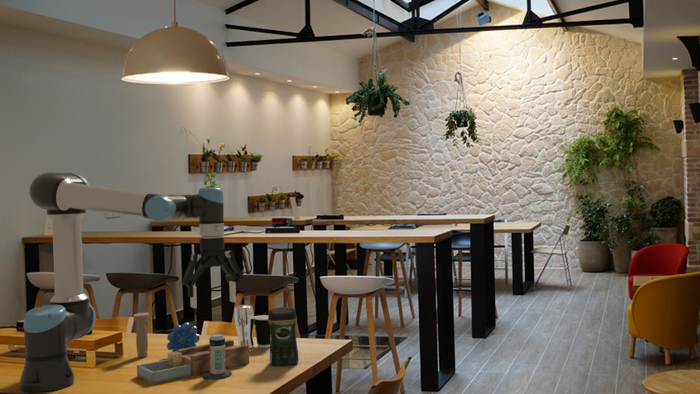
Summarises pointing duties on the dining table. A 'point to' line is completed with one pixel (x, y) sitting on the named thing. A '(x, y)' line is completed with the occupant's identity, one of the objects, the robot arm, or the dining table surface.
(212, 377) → the coaster
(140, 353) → the handle
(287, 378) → the dining table surface
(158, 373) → the tray
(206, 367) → the slot board
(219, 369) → the white labelled bottle
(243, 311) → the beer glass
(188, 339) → the grapes
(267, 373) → the dining table surface
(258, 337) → the dixie cup
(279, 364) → the coffee jar
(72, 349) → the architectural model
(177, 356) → the tan block
